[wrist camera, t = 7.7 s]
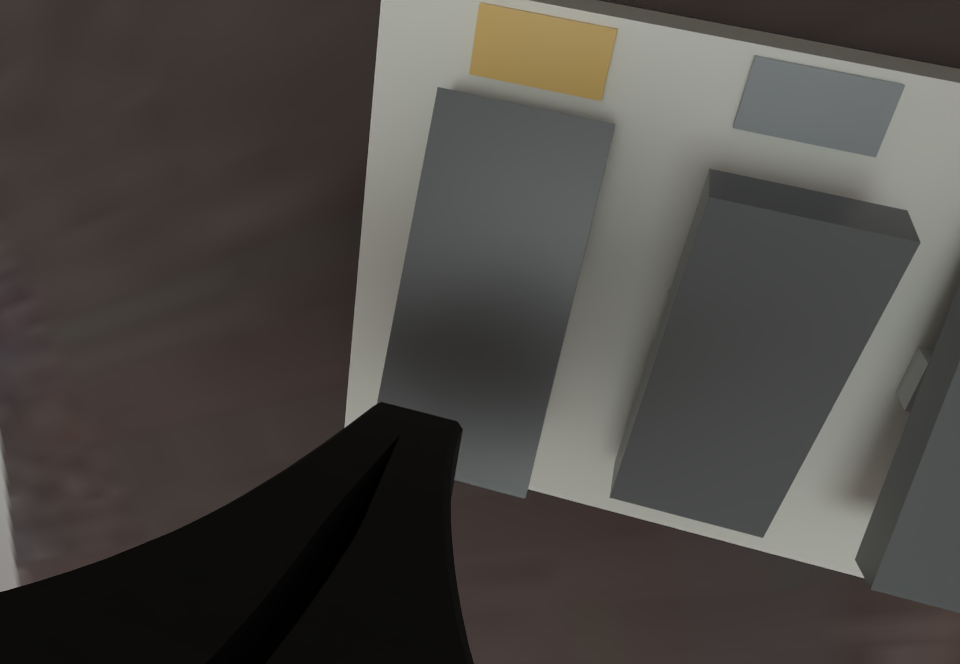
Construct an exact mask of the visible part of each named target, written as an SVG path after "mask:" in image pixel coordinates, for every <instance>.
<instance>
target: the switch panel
mask: <svg viewBox="0 0 960 664" xmlns="http://www.w3.org/2000/svg"><path fill="white" fill-rule="evenodd" d="M438 87H440V88H445V89H450V90H455V91H460V92H464V93H469V94H474V95H479V96H484V97H488V98H493V99H498V100H503V101H508V102H513V103H517V104H522V105H527V106H532V107H537V108H541V109H546V110H551V111H556V112H561V113H566V114H570V115H575V116H580V117H585V118H590V119H594V120H599V121H604V122H609V123H614V124H615V130H614V134H613V138H612V143H611V147H610V151H609V155H608V159H607V163H606V168H605V172H604V176H603V180H602V184H601V188H600V192H599V197H598V201H597V205H596V209H595V213H594V217H593V222H592V226H591V230H590V234H589V238H588V242H587V246H586V251H585V255H584V259H583V263H582V267H581V271H580V276H579V280H578V284H577V288H576V292H575V296H574V301H573V305H572V309H571V313H570V317H569V321H568V325H567V330H566V334H565V338H564V342H563V346H562V350H561V355H560V359H559V363H558V367H557V371H556V375H555V379H554V384H553V388H552V392H551V396H550V400H549V404H548V409H547V413H546V417H545V421H544V425H543V429H542V434H541V438H540V442H539V446H538V450H537V454H536V458H535V463H534V467H533V471H532V475H531V479H530V483H529V486H528V489H529V490H533V491H537V492H541V493H545V494H548V495H552V496H556V497H560V498H563V499H567V500H571V501H575V502H579V503H582V504H586V505H590V506H594V507H597V508H601V509H605V510H609V511H612V512H616V513H620V514H624V515H628V516H631V517H635V518H639V519H643V520H646V521H650V522H654V523H658V524H662V525H665V526H669V527H673V528H677V529H680V530H684V531H688V532H692V533H696V534H699V535H703V536H707V537H711V538H714V539H718V540H722V541H726V542H730V543H733V544H737V545H741V546H745V547H748V548H752V549H756V550H760V551H763V552H767V553H771V554H775V555H779V556H782V557H786V558H790V559H794V560H797V561H801V562H805V563H809V564H813V565H816V566H820V567H824V568H828V569H831V570H835V571H839V572H843V573H847V574H850V575H854V576H858V577H862V578H864V576H863V574H862V572H861V571H860V569H859V567H858V565H857V563H856V561H855V558H856V555H857V552H858V550H859V547H860V544H861V542H862V539H863V537H864V534H865V531H866V529H867V526H868V523H869V521H870V518H871V515H872V513H873V510H874V507H875V505H876V502H877V500H878V497H879V494H880V492H881V489H882V486H883V484H884V481H885V478H886V476H887V473H888V470H889V468H890V465H891V462H892V460H893V457H894V455H895V452H896V449H897V447H898V444H899V441H900V439H901V436H902V433H903V431H904V428H905V425H906V423H907V420H908V418H909V415H910V412H911V410H912V407H913V404H914V402H915V399H916V396H917V394H918V391H919V388H920V386H921V383H922V380H923V378H924V375H925V373H926V370H927V367H928V365H929V362H930V359H931V357H932V354H933V351H934V349H935V346H936V343H937V341H938V338H939V336H940V333H941V330H942V328H943V325H944V322H945V320H946V317H947V314H948V312H949V309H950V306H951V304H952V301H953V298H954V296H955V293H956V291H957V288H958V285H959V283H960V69H957V68H952V67H946V66H941V65H936V64H931V63H925V62H920V61H915V60H910V59H904V58H899V57H894V56H888V55H883V54H878V53H873V52H867V51H862V50H857V49H852V48H846V47H841V46H836V45H831V44H825V43H820V42H815V41H809V40H804V39H799V38H794V37H788V36H783V35H778V34H773V33H767V32H762V31H757V30H752V29H746V28H741V27H736V26H731V25H725V24H720V23H715V22H709V21H704V20H699V19H694V18H688V17H683V16H678V15H673V14H667V13H662V12H657V11H652V10H646V9H641V8H636V7H630V6H625V5H620V4H615V3H609V2H604V1H599V0H381V8H380V20H379V32H378V43H377V55H376V67H375V78H374V90H373V101H372V113H371V125H370V136H369V148H368V160H367V171H366V183H365V195H364V206H363V218H362V230H361V241H360V253H359V264H358V276H357V288H356V299H355V311H354V323H353V334H352V346H351V358H350V369H349V381H348V392H347V404H346V416H345V427H346V426H348V425H349V424H350V423H352V422H353V421H354V420H356V419H357V418H358V417H359V416H361V415H362V414H363V413H365V412H366V411H367V410H369V409H370V408H371V407H373V406H374V405H376V404H377V400H378V395H379V390H380V385H381V379H382V374H383V369H384V364H385V359H386V353H387V348H388V343H389V338H390V333H391V327H392V322H393V317H394V312H395V307H396V301H397V296H398V291H399V286H400V281H401V275H402V270H403V265H404V260H405V255H406V249H407V244H408V239H409V234H410V229H411V223H412V218H413V213H414V208H415V203H416V197H417V192H418V187H419V182H420V177H421V171H422V166H423V161H424V156H425V151H426V145H427V140H428V135H429V130H430V125H431V119H432V114H433V109H434V104H435V99H436V93H437V88H438ZM709 169H714V170H719V171H723V172H728V173H733V174H738V175H742V176H747V177H752V178H757V179H761V180H766V181H771V182H775V183H780V184H785V185H790V186H794V187H799V188H804V189H809V190H813V191H818V192H823V193H828V194H832V195H837V196H842V197H846V198H851V199H856V200H861V201H865V202H870V203H875V204H880V205H884V206H889V207H894V208H898V209H903V210H907V211H908V213H909V215H910V218H911V220H912V223H913V225H914V227H915V230H916V232H917V235H918V237H919V240H920V242H921V243H920V245H919V247H918V249H917V250H916V252H915V254H914V256H913V258H912V260H911V262H910V264H909V265H908V267H907V269H906V271H905V273H904V275H903V277H902V279H901V280H900V282H899V284H898V286H897V288H896V290H895V292H894V294H893V295H892V297H891V299H890V301H889V303H888V305H887V307H886V309H885V310H884V312H883V314H882V316H881V318H880V320H879V322H878V323H877V325H876V327H875V329H874V331H873V333H872V335H871V337H870V338H869V340H868V342H867V344H866V346H865V348H864V350H863V352H862V353H861V355H860V357H859V359H858V361H857V363H856V365H855V367H854V368H853V370H852V372H851V374H850V376H849V378H848V380H847V382H846V383H845V385H844V387H843V389H842V391H841V393H840V395H839V397H838V398H837V400H836V402H835V404H834V406H833V408H832V410H831V412H830V413H829V415H828V417H827V419H826V421H825V423H824V425H823V427H822V428H821V430H820V432H819V434H818V436H817V438H816V440H815V442H814V443H813V445H812V447H811V449H810V451H809V453H808V455H807V457H806V458H805V460H804V462H803V464H802V466H801V468H800V470H799V472H798V473H797V475H796V477H795V479H794V481H793V483H792V485H791V487H790V488H789V490H788V492H787V494H786V496H785V498H784V500H783V502H782V503H781V505H780V507H779V509H778V511H777V513H776V515H775V517H774V518H773V520H772V522H771V524H770V526H769V528H768V530H767V532H766V533H765V535H764V537H763V538H761V537H757V536H753V535H750V534H746V533H742V532H738V531H734V530H731V529H727V528H723V527H719V526H715V525H712V524H708V523H704V522H700V521H696V520H693V519H689V518H685V517H681V516H677V515H674V514H670V513H666V512H662V511H658V510H655V509H651V508H647V507H643V506H639V505H636V504H632V503H628V502H624V501H620V500H617V499H613V498H610V492H611V485H612V478H613V471H614V464H615V460H616V457H617V453H618V450H619V447H620V444H621V441H622V438H623V435H624V432H625V429H626V426H627V422H628V419H629V416H630V413H631V410H632V407H633V404H634V401H635V398H636V395H637V391H638V388H639V385H640V382H641V379H642V376H643V373H644V370H645V367H646V364H647V360H648V357H649V354H650V351H651V348H652V345H653V342H654V339H655V336H656V333H657V329H658V326H659V323H660V320H661V317H662V314H663V311H664V308H665V305H666V302H667V298H668V295H669V292H670V289H671V286H672V283H673V280H674V277H675V274H676V271H677V267H678V264H679V261H680V258H681V255H682V252H683V249H684V246H685V243H686V240H687V236H688V233H689V230H690V227H691V224H692V221H693V218H694V215H695V212H696V208H697V205H698V202H699V199H700V196H701V193H702V190H703V187H704V184H705V181H706V177H707V174H708V171H709ZM345 427H344V428H345Z"/></svg>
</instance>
